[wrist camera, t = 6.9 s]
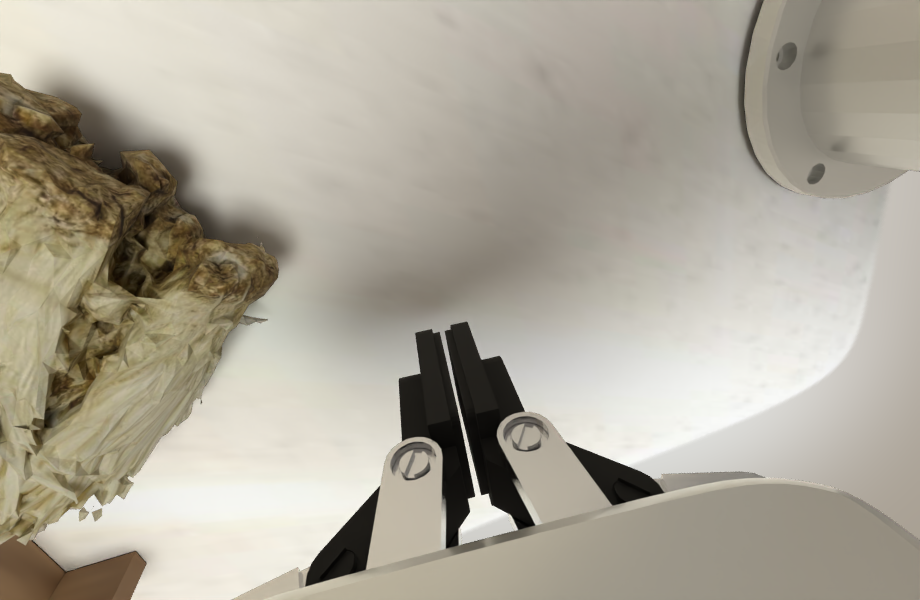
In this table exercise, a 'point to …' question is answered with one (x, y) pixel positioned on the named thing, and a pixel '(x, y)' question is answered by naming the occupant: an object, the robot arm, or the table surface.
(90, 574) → the stand
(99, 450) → the beige fibrous lump
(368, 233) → the table surface
